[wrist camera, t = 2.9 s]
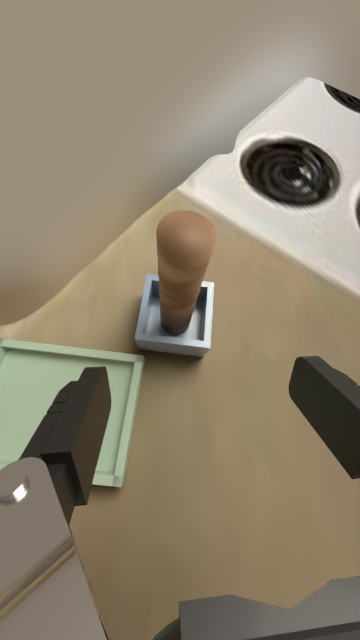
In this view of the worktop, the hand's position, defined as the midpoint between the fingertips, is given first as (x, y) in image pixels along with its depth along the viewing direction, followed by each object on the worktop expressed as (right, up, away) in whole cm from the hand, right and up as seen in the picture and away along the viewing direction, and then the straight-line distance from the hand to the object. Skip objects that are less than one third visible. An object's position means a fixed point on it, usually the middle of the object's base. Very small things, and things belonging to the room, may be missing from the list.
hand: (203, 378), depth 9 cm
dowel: (-2, +2, +18) cm, 18 cm away
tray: (-14, -7, +14) cm, 21 cm away
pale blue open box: (-2, +2, +19) cm, 19 cm away
